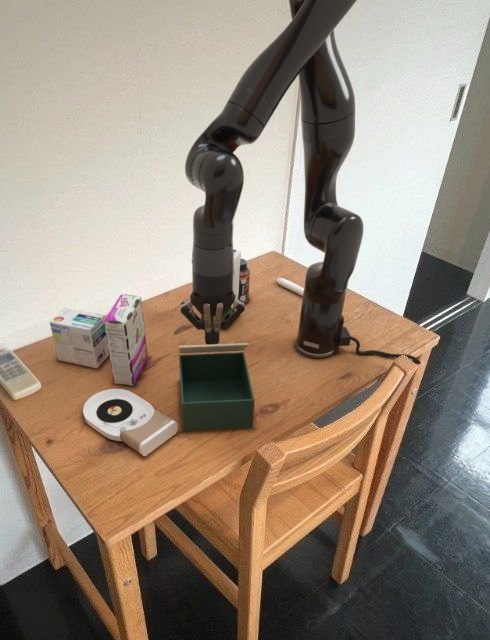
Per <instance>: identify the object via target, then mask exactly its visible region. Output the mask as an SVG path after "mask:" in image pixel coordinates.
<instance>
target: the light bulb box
mask: <svg viewBox="0 0 490 640" xmlns="http://www.w3.org/2000/svg"><path fill="white" fill-rule="evenodd" d="M105 318H106V316H105V314H100V313H95V312H87V311H82V310H77V309H72V308H68V307H67V308H66V307H64V308H62V309H61V310H60V311H59V312H58V313H57V314H56V315H55V316H54V317H53V318H51V319H50V320H49V321H48V322H49V327H50V331H51V334H52V339H53V344H54V347H55V351H56V355H57V360H58V361H61V362H65V363H69V364H70V363H71V364H75V365H80V366H84V367H88V368H93V369H99V368H100V367H101V365H102V364H103V363H104V362H105V361H106V360H107V358H108V357H110V355H109V349H108V344H107V338H106V332H105V327H104V320H105Z"/></svg>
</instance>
